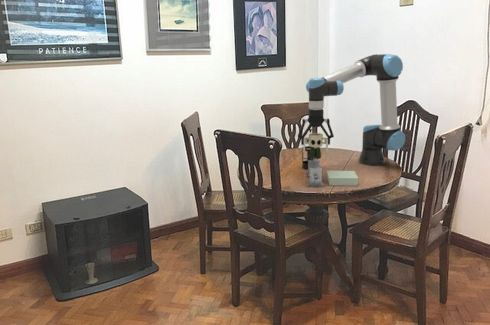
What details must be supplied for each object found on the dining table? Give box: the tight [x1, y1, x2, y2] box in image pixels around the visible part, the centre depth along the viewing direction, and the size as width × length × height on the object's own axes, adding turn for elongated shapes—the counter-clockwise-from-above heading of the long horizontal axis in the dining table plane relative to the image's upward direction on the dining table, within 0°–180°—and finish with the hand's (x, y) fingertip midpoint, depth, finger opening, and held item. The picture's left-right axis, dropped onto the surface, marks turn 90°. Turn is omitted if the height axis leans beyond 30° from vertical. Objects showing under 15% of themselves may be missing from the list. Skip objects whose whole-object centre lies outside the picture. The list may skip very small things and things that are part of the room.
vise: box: [305, 159, 325, 188], centre depth 238 cm, size 8×25×9 cm, turn 175°
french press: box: [301, 128, 319, 170], centre depth 264 cm, size 12×9×23 cm
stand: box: [326, 170, 359, 187], centre depth 236 cm, size 15×15×4 cm
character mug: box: [304, 132, 327, 160], centre depth 236 cm, size 11×7×13 cm, turn 86°
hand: (315, 150), depth 236 cm, fingers closed on character mug, 11 cm apart
